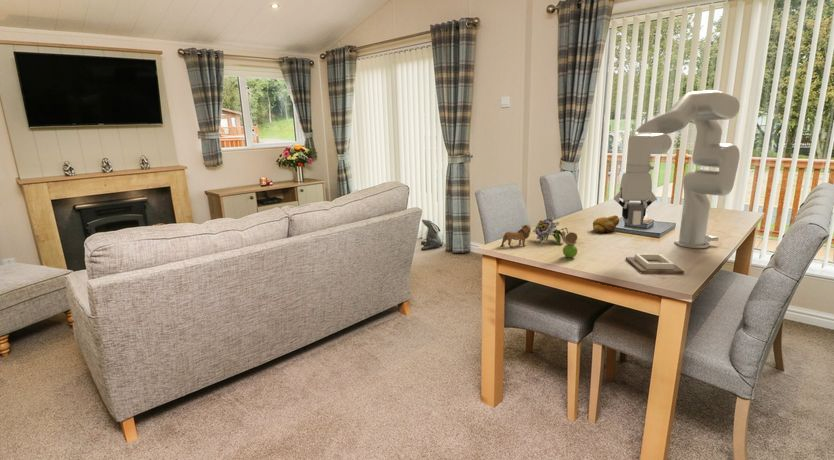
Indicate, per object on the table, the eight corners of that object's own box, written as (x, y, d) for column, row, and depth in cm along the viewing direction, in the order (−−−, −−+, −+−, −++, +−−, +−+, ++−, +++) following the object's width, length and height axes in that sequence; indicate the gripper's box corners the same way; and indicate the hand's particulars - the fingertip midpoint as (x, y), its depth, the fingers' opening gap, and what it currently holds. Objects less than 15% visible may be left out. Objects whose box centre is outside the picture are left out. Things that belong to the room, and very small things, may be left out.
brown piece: (664, 259, 168) (664, 252, 167) (683, 273, 153) (684, 265, 152) (625, 259, 170) (626, 252, 169) (641, 273, 154) (642, 265, 154)
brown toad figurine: (600, 235, 207) (601, 218, 205) (585, 230, 215) (586, 214, 213) (620, 231, 212) (622, 215, 210) (604, 227, 220) (605, 212, 218)
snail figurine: (557, 256, 176) (559, 227, 174) (573, 255, 177) (575, 226, 174) (563, 260, 171) (565, 230, 168) (579, 259, 172) (581, 229, 169)
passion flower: (540, 255, 199) (525, 229, 201) (558, 245, 204) (543, 220, 207) (557, 245, 188) (541, 218, 190) (576, 235, 193) (560, 209, 196)
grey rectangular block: (637, 220, 166) (638, 202, 164) (644, 224, 159) (645, 205, 157) (623, 220, 167) (624, 202, 165) (629, 224, 160) (630, 205, 158)
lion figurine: (526, 242, 197) (526, 223, 195) (533, 245, 192) (533, 225, 190) (497, 246, 192) (497, 226, 190) (503, 249, 187) (504, 229, 185)
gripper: (658, 167, 161) (653, 216, 165) (609, 168, 163) (606, 216, 168) (667, 170, 154) (661, 220, 158) (615, 170, 156) (612, 220, 161)
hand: (633, 217), depth 163 cm, fingers closed on grey rectangular block, 5 cm apart
